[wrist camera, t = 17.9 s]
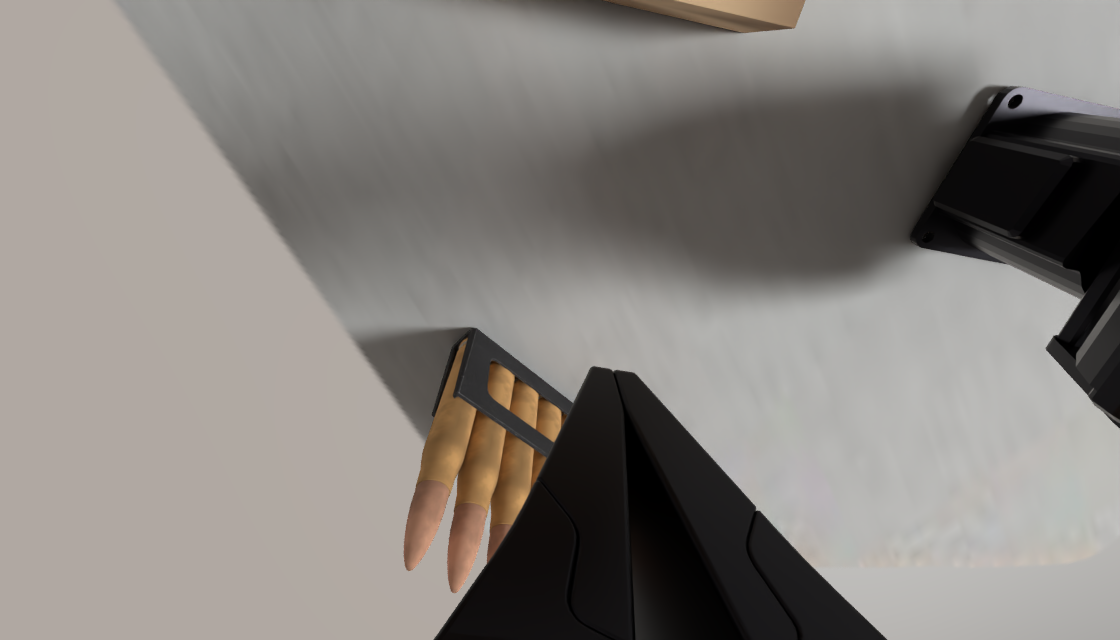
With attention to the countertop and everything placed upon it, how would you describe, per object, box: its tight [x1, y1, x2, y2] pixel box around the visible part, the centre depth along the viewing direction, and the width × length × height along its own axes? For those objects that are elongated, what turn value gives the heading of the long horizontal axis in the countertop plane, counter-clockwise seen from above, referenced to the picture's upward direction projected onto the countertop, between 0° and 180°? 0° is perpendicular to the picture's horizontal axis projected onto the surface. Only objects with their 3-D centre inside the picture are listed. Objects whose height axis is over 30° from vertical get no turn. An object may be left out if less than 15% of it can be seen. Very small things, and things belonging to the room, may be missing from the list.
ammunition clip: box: [404, 328, 573, 593], centre depth 20 cm, size 11×2×12 cm, turn 45°
